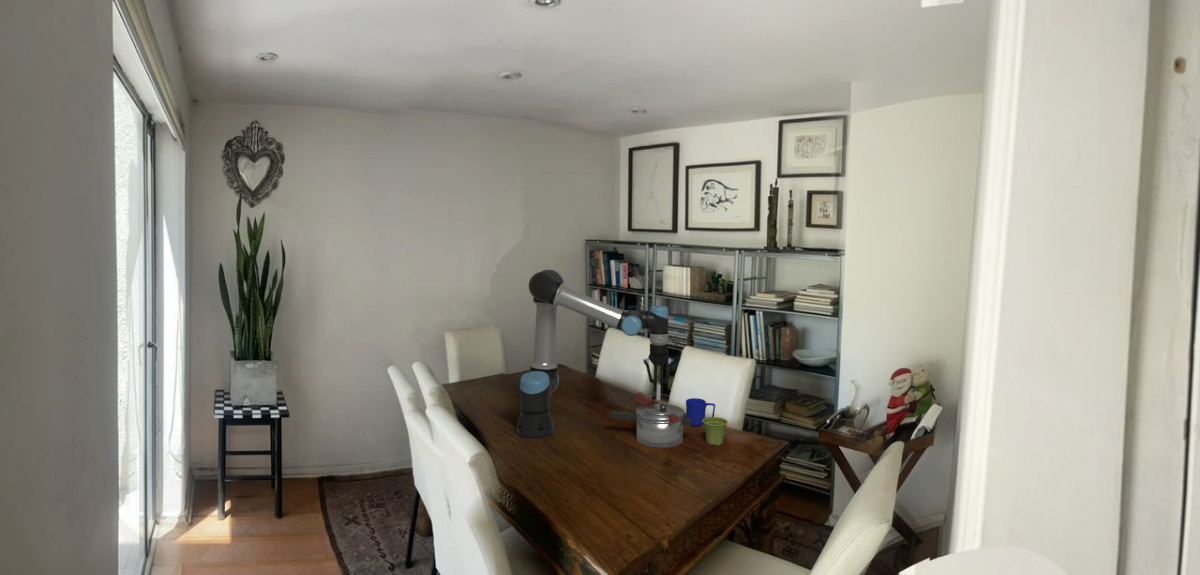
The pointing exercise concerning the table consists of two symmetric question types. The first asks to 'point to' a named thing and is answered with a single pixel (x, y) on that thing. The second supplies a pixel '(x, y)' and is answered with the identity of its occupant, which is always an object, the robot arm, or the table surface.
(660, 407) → the lid
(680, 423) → the pot
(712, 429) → the plant pot
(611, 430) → the table surface
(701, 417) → the mug
